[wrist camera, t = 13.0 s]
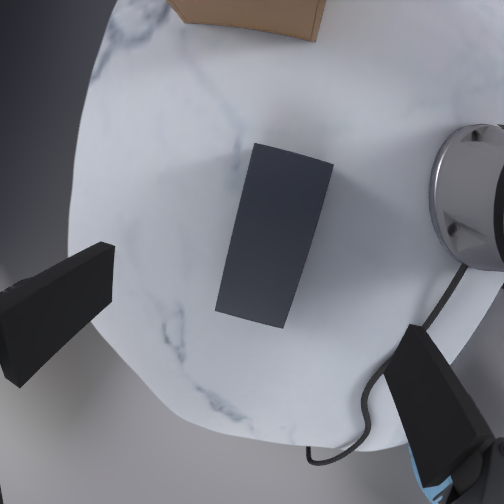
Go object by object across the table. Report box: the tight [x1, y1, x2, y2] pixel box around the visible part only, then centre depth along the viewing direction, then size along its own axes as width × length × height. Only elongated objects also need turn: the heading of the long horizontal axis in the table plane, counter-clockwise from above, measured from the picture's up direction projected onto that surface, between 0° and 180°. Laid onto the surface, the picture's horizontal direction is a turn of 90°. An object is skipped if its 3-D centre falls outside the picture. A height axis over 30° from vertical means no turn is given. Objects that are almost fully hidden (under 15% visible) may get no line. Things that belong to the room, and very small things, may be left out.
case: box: [215, 143, 334, 329], centre depth 25 cm, size 14×6×5 cm, turn 165°
